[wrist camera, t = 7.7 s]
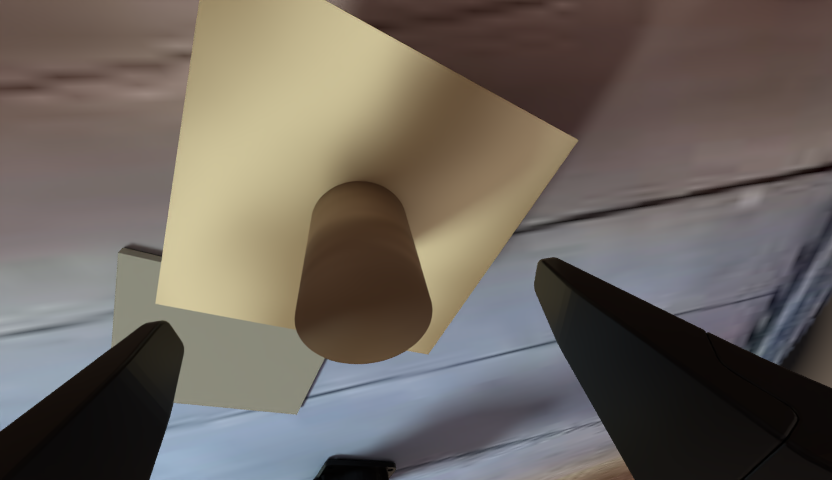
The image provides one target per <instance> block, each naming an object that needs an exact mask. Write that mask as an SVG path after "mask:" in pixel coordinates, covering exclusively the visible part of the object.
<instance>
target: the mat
mask: <svg viewBox="0 0 832 480" xmlns="http://www.w3.org/2000/svg"><path fill="white" fill-rule="evenodd" d="M161 261H162V257H161V256H157V255H152V254H148V253H144V252H139V251H135V250H131V249H126V248H122V249H121V250H120V251H119V252H118V263H117V277H116V291H115V305H114V318H113V332H112V346H111V348H112V347H113V346H115V345H116V344H117V343H119V342H120V341H121V340H123V339H124V338H125V337H127V336H128V335H129V334H131V333H132V332H133V331H135V330H136V329H137V328H139V327H140V326H141V325H143V324H145V323H148V322H154V321H160V320H165V321H167V322H169V323H170V325H171V326H172V327H173V329H174V330H175V332H176V333H177V335H178V336H179V338H180V339H181V341H182V342H183V345H184V356H183V361H182V365H181V370H180V375H179V379H178V384H177V388H176V393H175V398H174V402H173V403H182V404H192V405H202V406H213V407H223V408H234V409H244V410H255V411H265V412H276V413H286V414H296V415H297V413H298V411H299V409H300V407H301V405H302V403H303V401H304V399H305V397H306V395H307V393H308V391H309V389H310V387H311V385H312V383H313V381H314V379H315V377H316V375H317V373H318V371H319V369H320V367H321V365H322V363H323V361H324V359H325V358H324V357H322V356H320V355H318V354H316V353H314V352H313V351H312V350H310V349H309V348H308V347H307V346H306V345H305V344H304V343H303V342H302V340H301V339H300V337H299V335H298V333H297V331H296V330H294V329H288V328H283V327H278V326H272V325H267V324H261V323H256V322H251V321H245V320H240V319H234V318H229V317H224V316H218V315H213V314H207V313H202V312H197V311H191V310H186V309H180V308H175V307H170V306H164V305H159V304H155V302H156V295H157V288H158V281H159V275H160V268H161Z"/></svg>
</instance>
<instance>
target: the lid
mask: <svg viewBox="0 0 832 480" xmlns="http://www.w3.org/2000/svg"><path fill="white" fill-rule="evenodd" d="M577 142H578V140H577V139H575V138H574V137H572V136H570V135H568V134H566V133H565V132H563V131H561V130H559V129H557V128H556V127H554V126H552V125H550V124H548V123H547V122H545V121H543V120H541V119H539V118H537V117H536V116H534V115H532V114H530V113H528V112H527V111H525V110H523V109H521V108H519V107H517V106H516V105H514V104H512V103H510V102H508V101H507V100H505V99H503V98H501V97H499V96H498V95H496V94H494V93H492V92H490V91H488V90H487V89H485V88H483V87H481V86H479V85H478V84H476V83H474V82H472V81H470V80H468V79H467V78H465V77H463V76H461V75H459V74H458V73H456V72H454V71H452V70H450V69H448V68H447V67H445V66H443V65H441V64H439V63H438V62H436V61H434V60H432V59H430V58H429V57H427V56H425V55H423V54H421V53H419V52H418V51H416V50H414V49H412V48H410V47H409V46H407V45H405V44H403V43H401V42H399V41H398V40H396V39H394V38H392V37H390V36H389V35H387V34H385V33H383V32H381V31H380V30H378V29H376V28H374V27H372V26H370V25H369V24H367V23H365V22H363V21H361V20H360V19H358V18H356V17H354V16H352V15H350V14H349V13H347V12H345V11H343V10H341V9H340V8H338V7H336V6H334V5H332V4H331V3H329V2H327V1H325V0H199V7H198V14H197V21H196V28H195V35H194V41H193V48H192V55H191V62H190V69H189V76H188V83H187V89H186V96H185V103H184V110H183V117H182V124H181V131H180V137H179V144H178V151H177V158H176V165H175V172H174V179H173V185H172V192H171V199H170V206H169V213H168V220H167V227H166V233H165V240H164V247H163V254H162V261H161V268H160V275H159V281H158V288H157V295H156V302H155V304H159V305H164V306H170V307H175V308H180V309H186V310H191V311H197V312H202V313H207V314H213V315H218V316H224V317H229V318H234V319H240V320H245V321H251V322H256V323H261V324H267V325H272V326H278V327H283V328H288V329H294V330H296V331H297V333H298V335H299V337H300V339H301V340H302V342H303V343H304V344H305V345H306V346H307V347H308V348H309V349H310V350H312V351H313V352H314V353H316V354H318V355H320V356H322V357H324V358H326V359H329V360H332V361H336V362H341V363H348V364H368V363H375V362H379V361H383V360H387V359H390V358H392V357H395V356H397V355H399V354H401V353H403V352H405V351H406V350H407V351H412V352H418V353H423V354H429V352H430V351H431V350H432V348H433V347H434V345H435V344H436V343H437V341H438V340H439V338H440V337H441V335H442V334H443V333H444V331H445V330H446V328H447V327H448V325H449V324H450V323H451V321H452V320H453V318H454V317H455V315H456V314H457V313H458V311H459V310H460V308H461V307H462V305H463V304H464V303H465V301H466V300H467V298H468V297H469V295H470V294H471V293H472V291H473V290H474V288H475V287H476V286H477V284H478V283H479V281H480V280H481V278H482V277H483V276H484V274H485V273H486V271H487V270H488V268H489V267H490V266H491V264H492V263H493V261H494V260H495V258H496V257H497V256H498V254H499V253H500V251H501V250H502V248H503V247H504V246H505V244H506V243H507V241H508V240H509V238H510V237H511V236H512V234H513V233H514V231H515V230H516V229H517V227H518V226H519V224H520V223H521V221H522V220H523V219H524V217H525V216H526V214H527V213H528V211H529V210H530V209H531V207H532V206H533V204H534V203H535V201H536V200H537V199H538V197H539V196H540V194H541V193H542V191H543V190H544V189H545V187H546V186H547V184H548V183H549V181H550V180H551V179H552V177H553V176H554V174H555V173H556V172H557V170H558V169H559V167H560V166H561V164H562V163H563V162H564V160H565V159H566V157H567V156H568V154H569V153H570V152H571V150H572V149H573V147H574V146H575V144H576V143H577Z"/></svg>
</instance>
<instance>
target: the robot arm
mask: <svg viewBox="0 0 832 480" xmlns="http://www.w3.org/2000/svg"><path fill="white" fill-rule="evenodd" d="M534 288H535V292H536V295H537V297H538V299H539V302H540V304H541V306H542V309H543V311H544V313H545V316H546V318H547V320H548V323H549V325H550V327H551V330H552V332H553V334H554V337H555V339H556V341H557V343H558V345H559V347H560V349H561V351H562V352H563V354H564V356H565V358H566V359H567V361H568V363H569V365H570V367H571V368H572V370H573V372H574V374H575V375H576V377H577V379H578V381H579V382H580V384H581V386H582V388H583V389H584V391H585V393H586V395H587V397H588V398H589V400H590V402H591V404H592V405H593V407H594V409H595V411H596V412H597V414H598V416H599V418H600V419H601V421H602V423H603V425H604V427H605V428H606V430H607V432H608V434H609V435H610V437H611V439H612V441H613V442H614V444H615V446H616V448H617V449H618V451H619V453H620V455H621V456H622V458H623V460H624V462H625V464H626V465H627V467H628V469H629V471H630V472H631V474H632V476H633V478H634V479H635V480H832V388H830V387H828V386H825V385H823V384H821V383H818V382H816V381H814V380H811V379H809V378H807V377H804V376H802V375H800V374H798V373H795V372H793V371H790V370H788V369H786V368H784V367H782V366H779V365H777V364H775V363H773V362H770V361H768V360H766V359H764V358H761V357H759V356H757V355H755V354H753V353H751V352H749V351H747V350H744V349H742V348H740V347H738V346H736V345H734V344H732V343H730V342H728V341H726V340H724V339H721V338H719V337H717V336H715V335H713V334H711V333H709V332H707V333H706V332H705V331H704V330H703V329H701V328H699V327H697V326H695V325H693V324H691V323H689V322H687V321H685V320H683V319H681V318H679V317H676V316H674V315H672V314H670V313H668V312H666V311H664V310H662V309H660V308H658V307H656V306H654V305H652V304H650V303H648V302H646V301H644V300H642V299H640V298H638V297H636V296H634V295H632V294H630V293H628V292H626V291H624V290H621V289H619V288H617V287H615V286H613V285H611V284H609V283H607V282H605V281H603V280H601V279H599V278H597V277H595V276H593V275H591V274H589V273H587V272H585V271H583V270H581V269H579V268H577V267H575V266H573V265H571V264H568V263H566V262H564V261H562V260H560V259H558V258H555V257H552V258H545V259H541V260H540V261H539V262H538V264H537V270H536V276H535V282H534ZM183 356H184V345H183V342H182V341H181V339H180V338H179V336H178V335H177V333H176V332H175V330H174V329H173V327H172V326H171V325H170V323H169V322H167V321H165V320H160V321H154V322H148V323H145V324H143V325H141V326H140V327H139V328H137V329H136V330H135V331H133V332H132V333H131V334H129V335H128V336H127V337H125V338H124V339H123V340H121V341H120V342H119V343H117V344H116V345H115V346H113V347H112V348H111V349H109V350H108V351H107V352H105V353H104V354H103V355H101V356H100V357H99V358H97V359H96V360H95V361H93V362H92V363H91V364H89V365H88V366H87V367H85V368H84V369H83V370H81V371H80V372H79V373H77V374H76V375H75V376H74V377H72V378H71V379H70V380H68V381H67V382H66V383H64V384H63V385H62V386H60V387H59V388H58V389H56V390H55V391H54V392H52V393H51V394H50V395H48V396H47V397H46V398H44V399H43V400H42V401H40V402H39V403H38V404H36V405H35V406H34V407H32V408H31V409H30V410H28V411H27V412H26V413H24V414H23V415H22V416H20V417H19V418H18V419H16V420H15V421H14V422H12V423H11V424H10V425H8V426H7V427H6V428H4V429H3V430H2V431H0V480H149V479H150V476H151V473H152V470H153V467H154V464H155V461H156V458H157V455H158V452H159V449H160V446H161V443H162V440H163V437H164V434H165V431H166V428H167V425H168V422H169V418H170V415H171V411H172V407H173V402H174V398H175V393H176V388H177V384H178V379H179V375H180V370H181V365H182V361H183ZM395 470H396V464H395V463H392V462H372V461H352V460H328V461H326V462H325V464H324V465H323V467H322V468H321V470H320V471H319V473H318V475H317V476H316V477H315V478H314V479H313V480H389V478H390V477H391V475H392V474H393V473H394V472H395Z"/></svg>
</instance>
